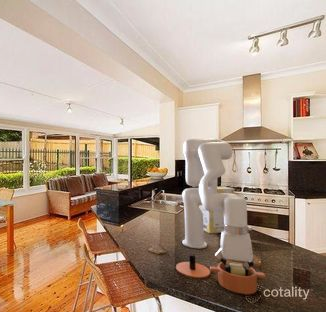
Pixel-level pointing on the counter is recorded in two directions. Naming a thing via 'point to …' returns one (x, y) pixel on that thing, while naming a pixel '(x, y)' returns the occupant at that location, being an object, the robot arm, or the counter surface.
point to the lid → (192, 268)
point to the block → (237, 269)
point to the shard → (157, 249)
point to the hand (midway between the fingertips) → (236, 276)
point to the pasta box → (215, 215)
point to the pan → (238, 279)
